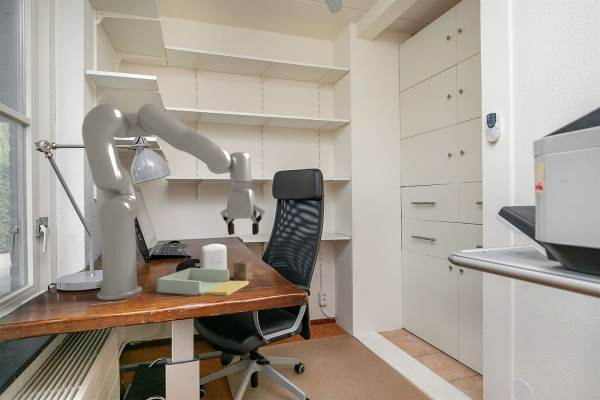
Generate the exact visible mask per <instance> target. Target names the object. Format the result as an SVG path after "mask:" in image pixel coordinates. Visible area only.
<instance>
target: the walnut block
mask: <svg viewBox="0 0 600 400" xmlns="http://www.w3.org/2000/svg"><path fill="white" fill-rule="evenodd" d="M232 268H233V269H232V271H233V281H249V280H250V279H253V260H238V261H236V262H233V263H232Z"/></svg>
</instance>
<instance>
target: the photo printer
mask: <svg viewBox="0 0 600 400" xmlns="http://www.w3.org/2000/svg"><path fill="white" fill-rule="evenodd" d="M227 251H228V250H227V246H226V245H225V244H221V243H210V244H206V245H203V246H202V247H201V248H200V268H205V269H225V270H228V258H227V257H228V253H227Z"/></svg>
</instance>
